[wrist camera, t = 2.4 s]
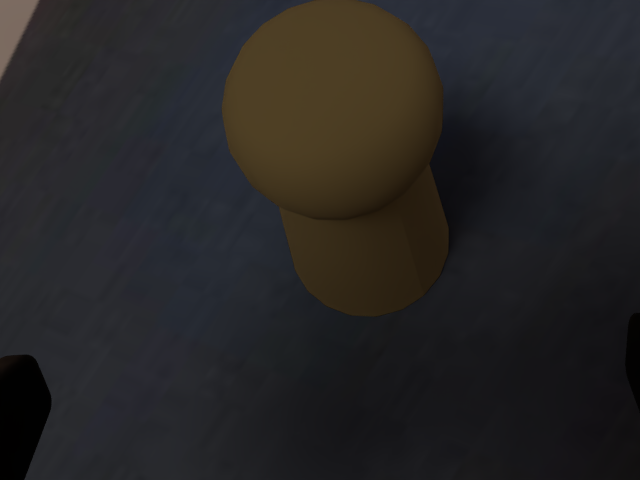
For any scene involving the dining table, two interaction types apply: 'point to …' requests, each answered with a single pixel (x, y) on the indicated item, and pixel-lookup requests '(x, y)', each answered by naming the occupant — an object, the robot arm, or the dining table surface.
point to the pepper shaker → (344, 149)
